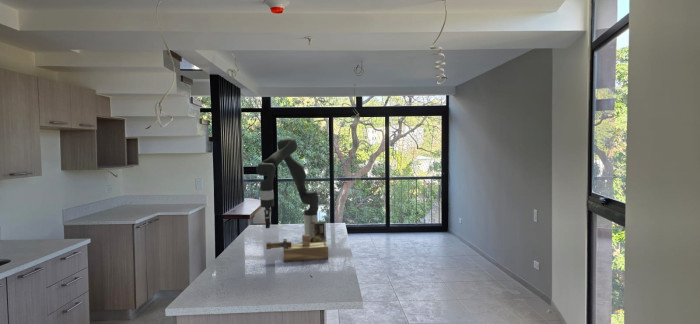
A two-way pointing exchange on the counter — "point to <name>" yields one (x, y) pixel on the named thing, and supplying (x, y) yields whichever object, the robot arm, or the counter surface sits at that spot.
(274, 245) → the brown block
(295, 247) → the lid
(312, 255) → the wooden box
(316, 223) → the coffee box
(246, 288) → the counter surface
